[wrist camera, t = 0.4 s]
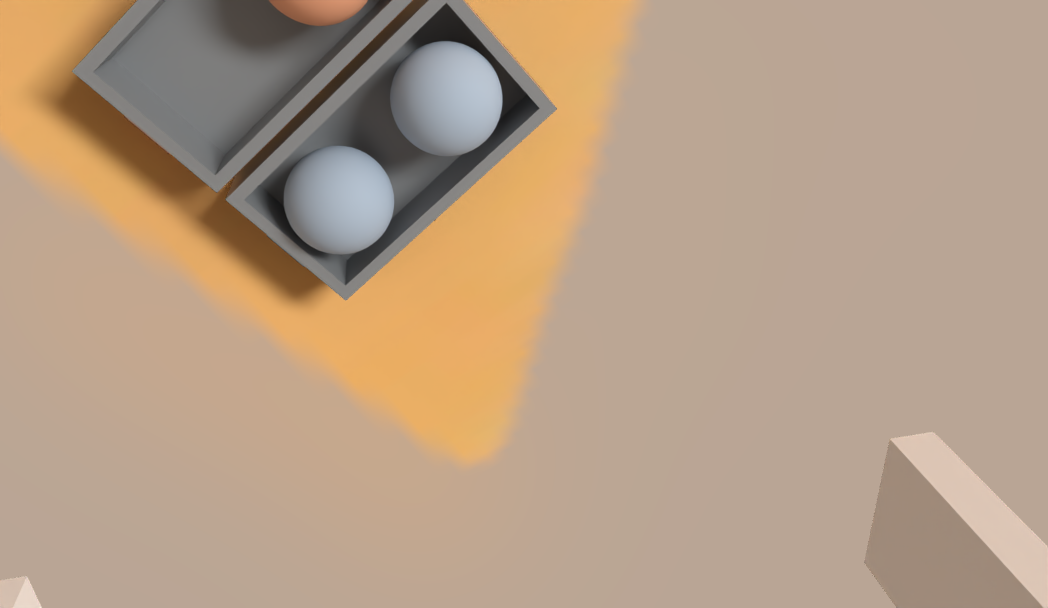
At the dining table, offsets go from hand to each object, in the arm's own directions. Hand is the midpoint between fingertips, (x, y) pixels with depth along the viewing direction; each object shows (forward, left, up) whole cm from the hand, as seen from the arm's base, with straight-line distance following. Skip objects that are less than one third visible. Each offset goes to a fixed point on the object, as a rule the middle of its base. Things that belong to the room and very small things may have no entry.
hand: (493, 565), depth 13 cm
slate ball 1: (0, -4, -23) cm, 24 cm away
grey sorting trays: (-4, -1, -26) cm, 26 cm away
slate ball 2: (0, +2, -23) cm, 23 cm away
